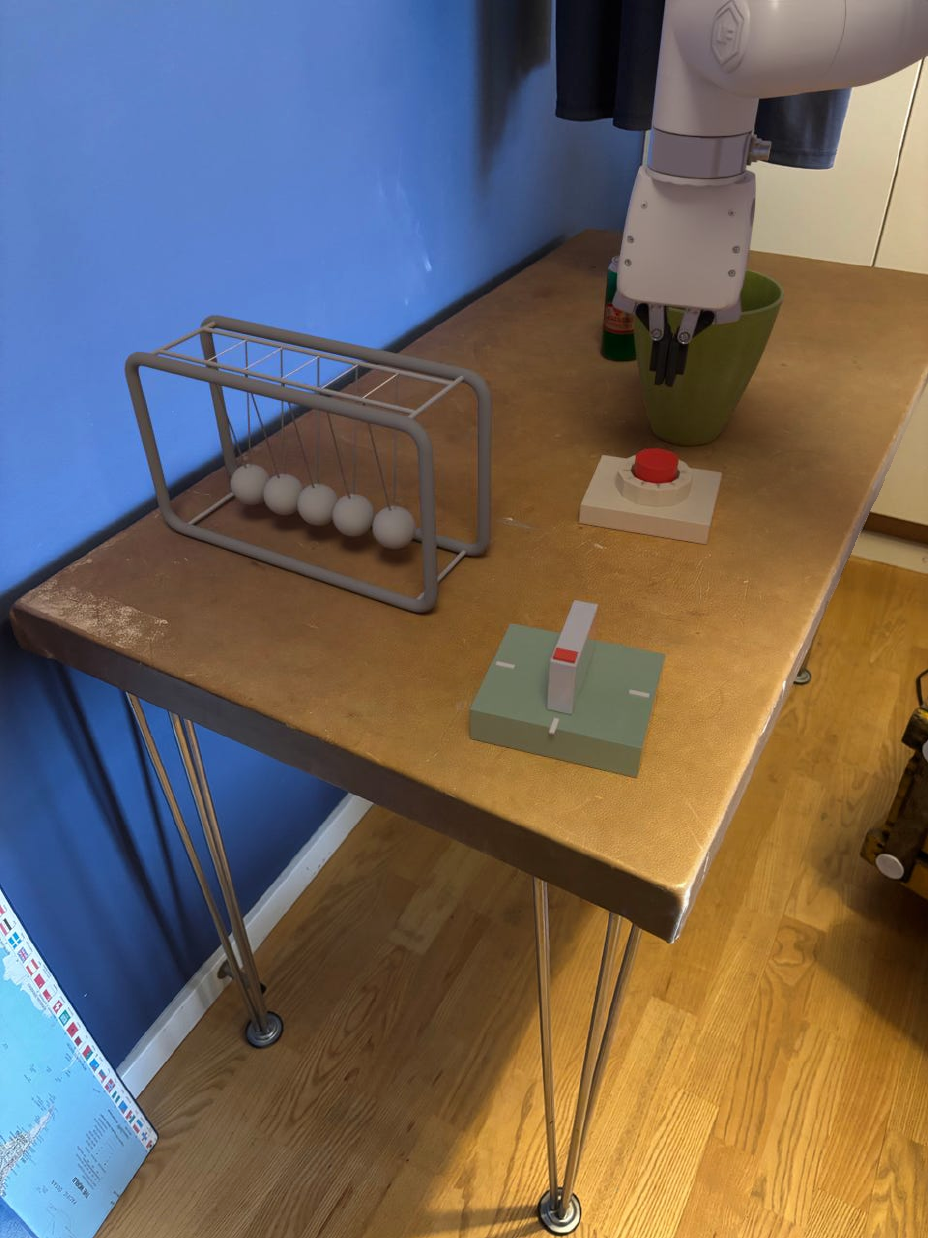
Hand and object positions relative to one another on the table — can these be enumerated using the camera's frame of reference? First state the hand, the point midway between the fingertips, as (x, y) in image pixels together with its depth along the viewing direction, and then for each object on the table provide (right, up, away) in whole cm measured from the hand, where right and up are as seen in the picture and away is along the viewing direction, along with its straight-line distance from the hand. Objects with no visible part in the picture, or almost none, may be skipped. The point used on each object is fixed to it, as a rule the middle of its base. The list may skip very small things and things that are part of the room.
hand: (665, 379), depth 81 cm
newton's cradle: (-31, -14, +4) cm, 34 cm away
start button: (0, -8, +6) cm, 10 cm away
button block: (0, -10, +8) cm, 13 cm away
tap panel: (-10, -28, -14) cm, 33 cm away
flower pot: (+7, -1, +20) cm, 21 cm away
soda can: (+2, +13, +37) cm, 39 cm away
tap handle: (-10, -26, -16) cm, 32 cm away
